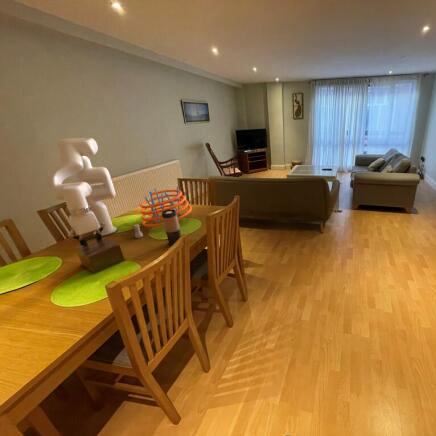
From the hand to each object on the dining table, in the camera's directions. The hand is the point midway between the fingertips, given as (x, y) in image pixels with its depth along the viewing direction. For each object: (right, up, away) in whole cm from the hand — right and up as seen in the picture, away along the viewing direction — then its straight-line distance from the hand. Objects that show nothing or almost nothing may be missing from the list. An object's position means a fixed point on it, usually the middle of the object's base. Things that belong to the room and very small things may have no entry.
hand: (92, 242), depth 124 cm
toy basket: (+12, +11, +53) cm, 56 cm away
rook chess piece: (+6, +1, +29) cm, 29 cm away
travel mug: (+34, -2, +20) cm, 39 cm away
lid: (+5, -2, -2) cm, 6 cm away
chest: (+5, -11, +1) cm, 12 cm away
